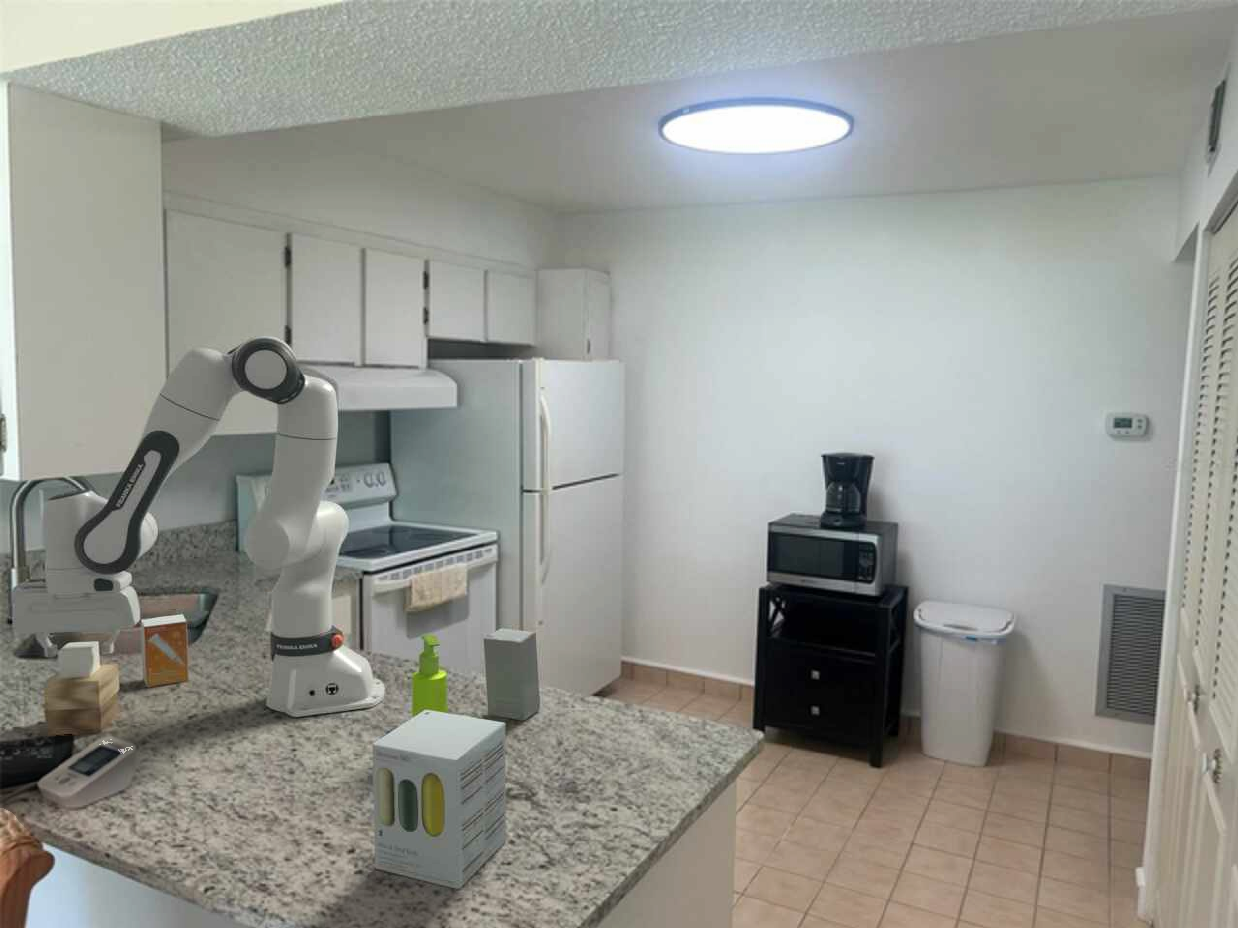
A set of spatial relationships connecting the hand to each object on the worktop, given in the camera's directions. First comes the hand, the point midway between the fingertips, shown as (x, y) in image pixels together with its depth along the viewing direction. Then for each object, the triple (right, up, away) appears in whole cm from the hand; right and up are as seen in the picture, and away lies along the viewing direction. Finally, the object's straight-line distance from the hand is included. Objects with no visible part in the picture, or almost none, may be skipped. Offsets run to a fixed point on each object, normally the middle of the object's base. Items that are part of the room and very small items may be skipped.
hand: (79, 654), depth 163 cm
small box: (+3, -11, +24) cm, 27 cm away
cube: (0, -3, 0) cm, 4 cm away
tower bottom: (0, -13, +1) cm, 14 cm away
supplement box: (+74, -19, -41) cm, 87 cm away
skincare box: (+78, -13, +8) cm, 79 cm away
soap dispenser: (+65, -15, -7) cm, 68 cm away
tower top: (0, -9, +1) cm, 9 cm away
